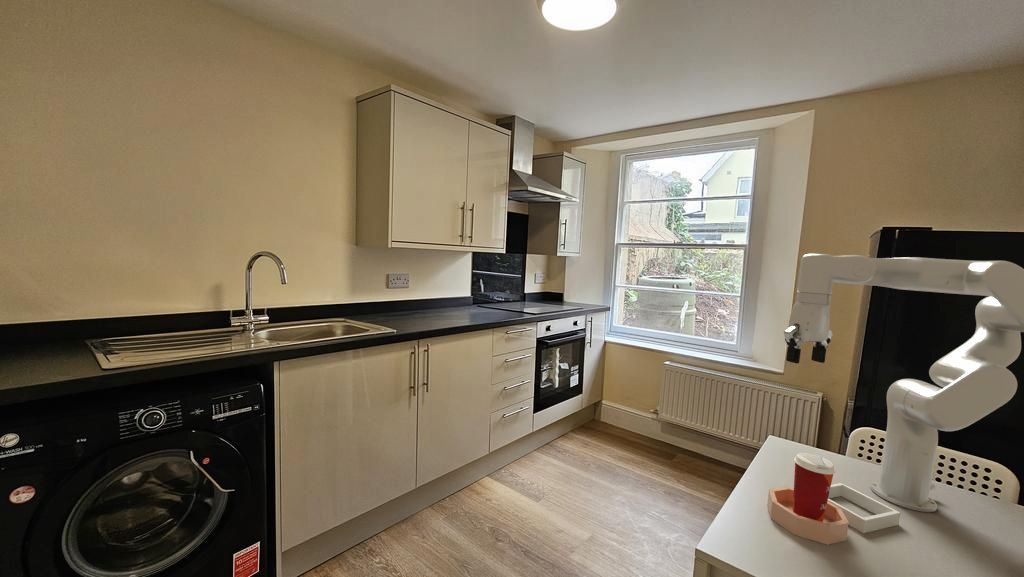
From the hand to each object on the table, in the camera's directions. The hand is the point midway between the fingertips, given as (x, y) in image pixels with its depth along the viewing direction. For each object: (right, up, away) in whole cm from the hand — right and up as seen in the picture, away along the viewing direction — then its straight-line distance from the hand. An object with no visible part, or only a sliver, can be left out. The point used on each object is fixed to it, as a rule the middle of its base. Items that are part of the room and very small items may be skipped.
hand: (805, 361), depth 109 cm
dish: (-13, -34, -17) cm, 40 cm away
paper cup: (-12, -33, -17) cm, 39 cm away
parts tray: (+3, -35, -12) cm, 37 cm away
